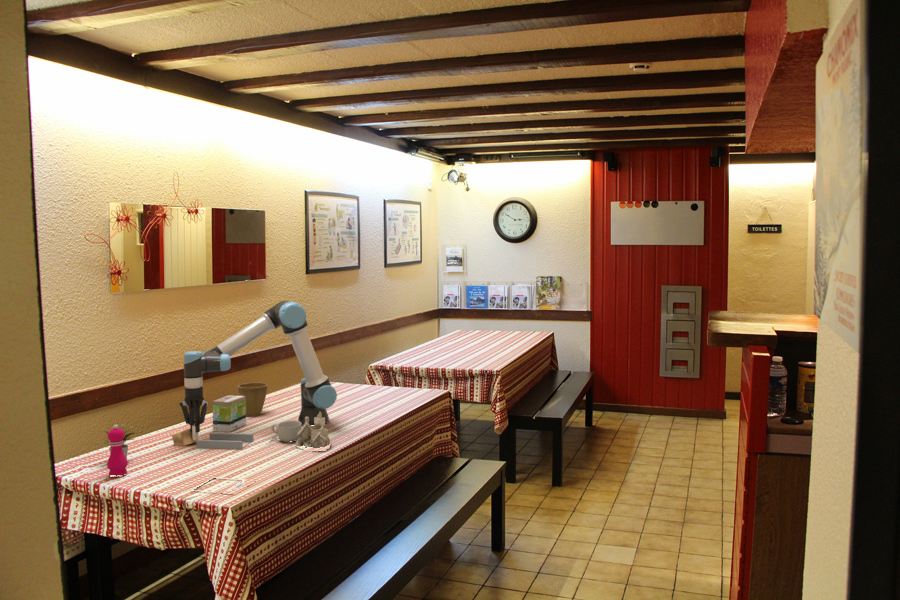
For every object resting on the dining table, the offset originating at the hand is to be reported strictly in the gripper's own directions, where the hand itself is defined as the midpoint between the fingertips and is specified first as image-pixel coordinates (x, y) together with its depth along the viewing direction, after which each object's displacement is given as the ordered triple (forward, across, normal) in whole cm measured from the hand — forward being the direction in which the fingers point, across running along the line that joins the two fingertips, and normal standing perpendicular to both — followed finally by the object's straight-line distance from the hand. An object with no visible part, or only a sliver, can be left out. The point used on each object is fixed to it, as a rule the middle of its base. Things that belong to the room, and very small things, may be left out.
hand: (195, 439), depth 300 cm
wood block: (-2, +1, 0) cm, 2 cm away
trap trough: (+3, -14, 0) cm, 14 cm away
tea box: (+3, -1, -33) cm, 33 cm away
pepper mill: (+4, +12, +39) cm, 41 cm away
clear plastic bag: (+5, -35, +48) cm, 59 cm away
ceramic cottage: (+4, -52, -4) cm, 52 cm away
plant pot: (+3, -2, -59) cm, 59 cm away
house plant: (+4, +21, +24) cm, 33 cm away
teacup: (+3, -37, -13) cm, 39 cm away
